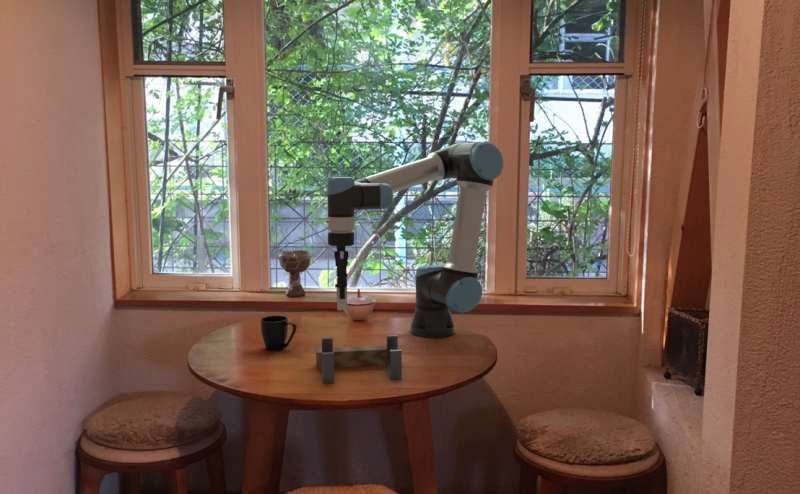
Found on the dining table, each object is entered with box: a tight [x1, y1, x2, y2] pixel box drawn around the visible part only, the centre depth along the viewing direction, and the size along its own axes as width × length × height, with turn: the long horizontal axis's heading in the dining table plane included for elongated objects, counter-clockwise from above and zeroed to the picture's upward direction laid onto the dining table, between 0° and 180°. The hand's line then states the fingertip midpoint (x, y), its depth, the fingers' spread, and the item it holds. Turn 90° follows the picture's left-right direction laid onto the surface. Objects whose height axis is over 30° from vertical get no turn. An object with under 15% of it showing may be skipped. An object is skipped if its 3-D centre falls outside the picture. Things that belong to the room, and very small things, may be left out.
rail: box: [315, 344, 401, 370], centre depth 180 cm, size 24×4×5 cm, turn 100°
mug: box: [260, 315, 298, 352], centre depth 194 cm, size 8×12×10 cm
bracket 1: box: [321, 337, 335, 384], centre depth 169 cm, size 3×8×10 cm, turn 8°
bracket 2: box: [386, 334, 403, 381], centre depth 171 cm, size 3×8×10 cm, turn 8°
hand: (341, 304), depth 181 cm, fingers open, 13 cm apart
